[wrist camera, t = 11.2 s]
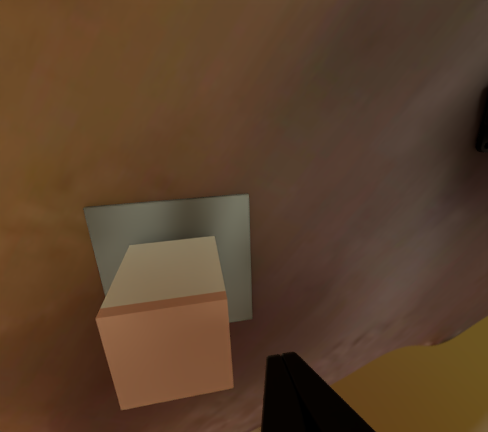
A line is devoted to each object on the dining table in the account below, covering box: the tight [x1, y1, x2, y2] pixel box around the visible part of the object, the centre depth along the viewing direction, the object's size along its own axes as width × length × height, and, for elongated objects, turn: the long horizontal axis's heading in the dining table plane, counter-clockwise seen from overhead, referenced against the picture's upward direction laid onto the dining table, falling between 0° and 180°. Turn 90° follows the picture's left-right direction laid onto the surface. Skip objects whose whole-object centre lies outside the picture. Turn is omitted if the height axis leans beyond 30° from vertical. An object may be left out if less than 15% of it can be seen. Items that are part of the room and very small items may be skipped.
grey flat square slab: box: [83, 194, 252, 323], centre depth 16 cm, size 10×10×7 cm
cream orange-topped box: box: [95, 236, 234, 410], centre depth 15 cm, size 5×5×7 cm
